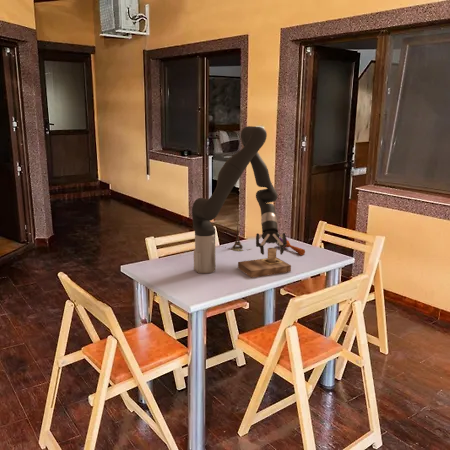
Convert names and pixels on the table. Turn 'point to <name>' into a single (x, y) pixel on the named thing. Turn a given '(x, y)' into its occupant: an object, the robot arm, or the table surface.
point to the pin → (271, 255)
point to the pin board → (263, 267)
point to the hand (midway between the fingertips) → (272, 253)
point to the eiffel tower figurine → (237, 248)
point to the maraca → (293, 247)
